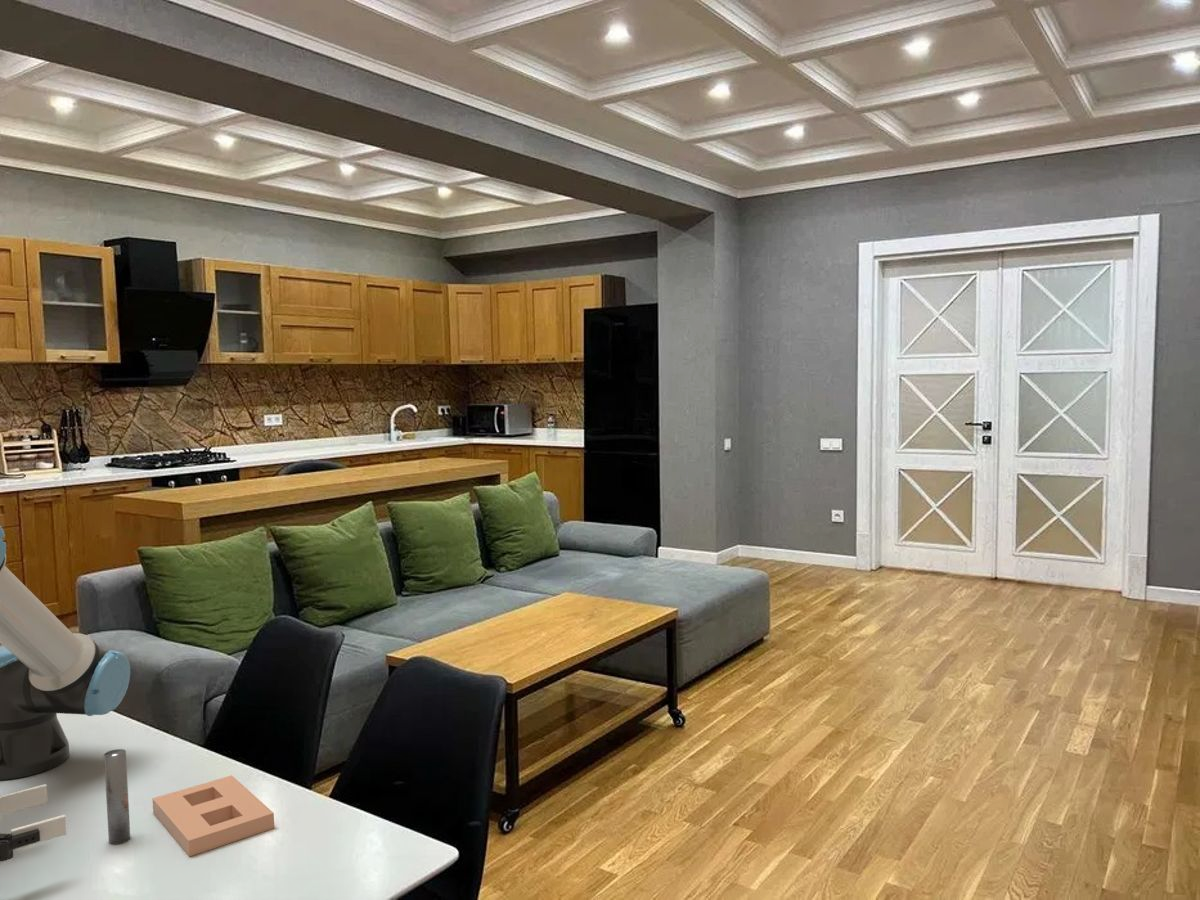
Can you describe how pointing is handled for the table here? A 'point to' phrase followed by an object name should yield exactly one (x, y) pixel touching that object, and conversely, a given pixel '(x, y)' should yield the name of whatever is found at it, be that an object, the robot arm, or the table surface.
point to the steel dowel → (117, 796)
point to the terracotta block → (212, 814)
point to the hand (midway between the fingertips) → (56, 808)
